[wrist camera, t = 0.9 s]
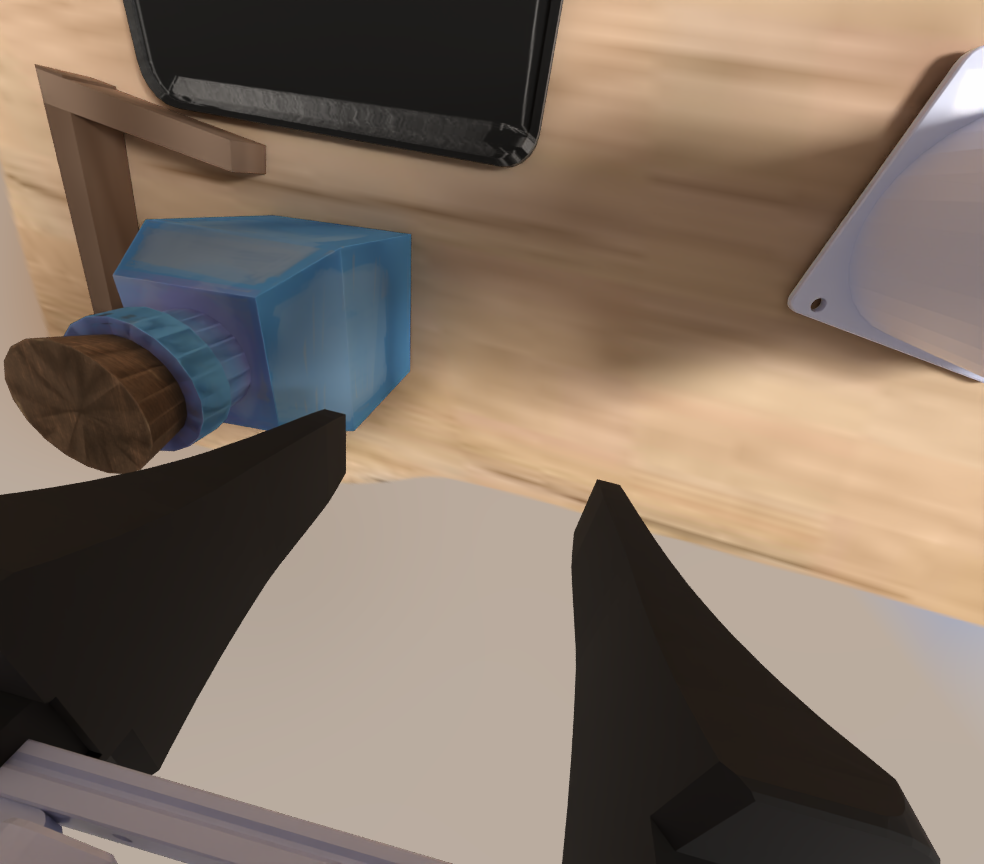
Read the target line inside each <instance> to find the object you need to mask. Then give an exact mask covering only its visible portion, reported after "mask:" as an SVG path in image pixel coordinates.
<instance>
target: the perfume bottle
mask: <svg viewBox="0 0 984 864" xmlns="http://www.w3.org/2000/svg"><path fill="white" fill-rule="evenodd" d="M112 276H113V278H114V281H115V284H116V287H117V290H118V293H119V296H120V299H121V302H122V304H123V307H124V308H120V309H115V310H111V311H107V312H102V313H98V314H94V315H89V316H85V317H83V318H81V319H80V320H78V321H76V322H74V323H72V324H70V326H69V328H68V329H67V331H66V333H65V335H64V336H63V337H47V338H30V339H24V340H22V341H20V342H19V343H17V344H15V345H13V346H11V347H10V349H9V351H8V353H7V355H6V358H5V360H4V370H5V380H6V383H7V385H8V388H9V390H10V393H11V395H12V398H13V400H14V402H15V403H16V404H17V406H18V407H19V409H20V410H21V412H22V413H23V415H24V416H25V418H26V419H27V420H28V422H29V423H30V424H31V425H32V426H33V427H34V428H35V429H36V430H37V431H38V432H39V433H40V434H41V435H42V436H43V437H44V438H45V439H46V440H47V441H49V442H50V443H51V444H53V445H54V446H55V447H56V448H58V449H59V450H60V451H62V452H63V453H64V454H66V455H68V456H69V457H71V458H73V459H75V460H77V461H78V462H80V463H82V464H84V465H86V466H88V467H91V468H94V469H97V470H100V471H104V472H107V473H118V474H125V473H129V472H134V471H137V470H141V468H143V466H145V465H146V463H148V462H149V461H150V460H151V459H152V458H153V457H154V456H155V455H156V454H157V453H158V452H159V451H176V450H180V449H183V448H185V447H188V446H191V445H192V444H194V443H195V442H197V441H198V440H200V439H201V438H203V437H205V436H206V435H208V434H209V433H211V432H212V431H214V430H215V429H217V428H218V427H219V426H220V425H221V424H222V423H229V424H234V425H240V426H245V427H251V428H256V429H262V430H270V429H272V428H275V427H278V426H280V425H283V424H285V423H288V422H290V421H293V420H295V419H298V418H300V417H303V416H306V415H308V414H311V413H314V412H317V411H320V410H323V409H327V410H331V411H335V412H338V413H342V414H346V431H355V430H356V428H357V427H358V426H359V425H360V424H361V423H362V422H363V421H364V420H365V419H366V418H367V417H368V416H369V415H370V413H371V412H372V411H373V410H374V409H375V408H376V407H377V406H378V405H379V404H380V403H381V402H382V401H383V400H384V399H385V397H386V396H387V395H388V394H389V393H390V392H391V391H392V390H393V389H394V388H395V387H396V386H397V385H398V384H399V382H400V381H401V380H402V379H403V378H404V377H405V376H406V375H407V374H408V373H409V372H410V314H411V234H407V233H399V232H392V231H385V230H377V229H370V228H363V227H356V226H348V225H341V224H334V223H326V222H319V221H312V220H305V219H297V218H290V217H283V216H275V215H265V216H235V217H205V218H174V219H146V220H145V221H144V223H143V225H142V226H141V228H140V230H139V231H138V233H137V235H136V236H135V238H134V240H133V242H132V243H131V245H130V247H129V248H128V250H127V252H126V253H125V255H124V257H123V258H122V260H121V262H120V263H119V265H118V267H117V269H116V270H115V272H114V274H113V275H112Z"/></svg>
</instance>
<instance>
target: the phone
mask: <svg viewBox="0 0 984 864" xmlns="http://www.w3.org/2000/svg"><path fill="white" fill-rule="evenodd" d="M123 2H124V7H125V11H126V15H127V19H128V23H129V28H130V32H131V36H132V40H133V44H134V48H135V53H136V57H137V61H138V64H139V67H140V70H141V73H142V76H143V77H144V79H145V81H146V83H147V84H148V86H149V88H150V89H151V90H152V91H153V92H154V94H155V95H156V96H157V97H158V98H159V99H161V100H162V101H163V102H165V103H166V104H168V105H171V106H173V107H176V108H181V109H185V110H190V111H195V112H201V113H207V114H212V115H218V116H223V117H229V118H234V119H240V120H245V121H251V122H256V123H262V124H268V125H273V126H279V127H284V128H290V129H295V130H301V131H306V132H312V133H318V134H323V135H329V136H334V137H340V138H345V139H351V140H356V141H362V142H367V143H373V144H379V145H384V146H390V147H395V148H401V149H406V150H412V151H417V152H423V153H428V154H434V155H440V156H445V157H451V158H456V159H462V160H467V161H473V162H478V163H484V164H490V165H495V166H501V167H513V166H516V165H518V164H521V163H523V162H524V161H525V160H526V159H527V158H528V157H529V156H530V155H531V154H532V152H533V150H534V149H535V147H536V145H537V142H538V139H539V135H540V130H541V124H542V119H543V113H544V107H545V102H546V96H547V90H548V84H549V79H550V73H551V67H552V62H553V56H554V50H555V44H556V39H557V33H558V27H559V22H560V16H561V10H562V4H563V0H123Z"/></svg>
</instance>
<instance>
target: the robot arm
mask: <svg viewBox="0 0 984 864" xmlns="http://www.w3.org/2000/svg"><path fill="white" fill-rule="evenodd" d="M819 298H821V303H820V305H819V306H818V307H817V308H815V309H813V310H811V307H810V306H811V304H812V302H814V301H815V300H816V299H819ZM787 304H788V307H789V308H790V309H791V310H793V311H794V312H796V313H799V314H801V315H804V316H807V317H809V318H812V319H815V320H817V321H820V322H823V323H825V324H828V325H831V326H833V327H836V328H839V329H841V330H844V331H846V332H849V333H852V334H854V335H857V336H860V337H862V338H865V339H868V340H870V341H873V342H876V343H878V344H881V345H884V346H886V347H889V348H892V349H894V350H897V351H900V352H902V353H905V354H908V355H910V356H913V357H916V358H918V359H921V360H924V361H926V362H929V363H932V364H934V365H937V366H940V367H942V368H945V369H948V370H950V371H953V372H956V373H958V374H961V375H964V376H966V377H969V378H972V379H974V380H977V381H980V382H982V383H984V45H983V46H980V47H977V48H974V49H972V50H969V51H968V52H966V53H965V54H963V55H962V56H961V57H960V58H959V59H958V60H957V61H956V62H955V63H954V65H953V66H952V68H951V69H950V70H949V72H948V73H947V75H946V76H945V77H944V79H943V80H942V82H941V83H940V84H939V86H938V87H937V89H936V90H935V91H934V93H933V94H932V96H931V97H930V99H929V100H928V101H927V103H926V104H925V106H924V107H923V108H922V110H921V111H920V113H919V114H918V115H917V117H916V118H915V120H914V121H913V122H912V124H911V125H910V127H909V128H908V129H907V131H906V132H905V134H904V135H903V136H902V138H901V139H900V141H899V142H898V143H897V145H896V146H895V148H894V149H893V150H892V152H891V153H890V155H889V156H888V158H887V159H886V160H885V162H884V163H883V165H882V166H881V167H880V169H879V170H878V172H877V173H876V174H875V176H874V177H873V179H872V180H871V181H870V183H869V184H868V186H867V187H866V188H865V190H864V191H863V193H862V194H861V195H860V197H859V198H858V200H857V201H856V202H855V204H854V205H853V207H852V208H851V209H850V211H849V212H848V214H847V215H846V217H845V218H844V219H843V221H842V222H841V224H840V225H839V226H838V228H837V229H836V231H835V232H834V233H833V235H832V236H831V238H830V239H829V240H828V242H827V243H826V245H825V246H824V247H823V249H822V250H821V252H820V253H819V254H818V256H817V257H816V259H815V260H814V261H813V263H812V264H811V266H810V267H809V268H808V270H807V271H806V273H805V274H804V276H803V277H802V278H801V280H800V281H799V283H798V284H797V285H796V287H795V288H794V290H793V291H792V292H791V294H790V296H789V298H788V303H787ZM345 473H346V414H342V413H338V412H335V411H331V410H327V409H323V410H320V411H317V412H314V413H311V414H308V415H306V416H303V417H300V418H298V419H295V420H293V421H290V422H288V423H285V424H283V425H280V426H278V427H275V428H272V429H270V430H267V431H265V432H262V433H260V434H257V435H254V436H252V437H249V438H246V439H243V440H240V441H237V442H235V443H232V444H229V445H226V446H223V447H220V448H217V449H214V450H212V451H209V452H206V453H203V454H199V455H196V456H192V457H189V458H186V459H182V460H179V461H175V462H171V463H167V464H163V465H160V466H156V467H152V468H148V469H144V470H139V471H134V472H129V473H125V474H120V475H116V476H111V477H106V478H101V479H97V480H92V481H87V482H81V483H75V484H70V485H64V486H58V487H53V488H45V489H39V490H33V491H25V492H19V493H11V494H4V495H0V864H118V863H117V861H116V860H115V858H114V856H113V855H112V854H110V853H108V852H105V851H103V850H100V849H98V848H95V847H93V846H91V845H88V844H86V843H83V842H81V841H78V840H76V839H73V838H71V837H69V836H66V835H63V833H62V826H65V827H68V828H71V829H75V830H78V831H81V832H85V833H88V834H91V835H95V836H98V837H101V838H104V839H108V840H111V841H115V842H118V843H121V844H125V845H128V846H131V847H135V848H138V849H141V850H144V851H148V852H151V853H154V854H158V855H161V856H164V857H168V858H171V859H174V860H178V861H181V862H184V863H188V864H452V863H449V862H445V861H442V860H438V859H435V858H431V857H428V856H425V855H421V854H417V853H415V852H411V851H408V850H404V849H401V848H397V847H394V846H391V845H387V844H384V843H381V842H377V841H373V840H370V839H367V838H364V837H360V836H357V835H353V834H350V833H347V832H343V831H340V830H336V829H333V828H329V827H326V826H323V825H319V824H316V823H312V822H309V821H305V820H302V819H298V818H295V817H292V816H289V815H285V814H282V813H279V812H275V811H272V810H268V809H265V808H262V807H258V806H255V805H251V804H248V803H244V802H241V801H238V800H234V799H231V798H228V797H224V796H221V795H217V794H214V793H211V792H207V791H203V790H200V789H197V788H193V787H190V786H186V785H183V784H180V783H177V782H173V781H170V780H166V779H163V778H160V777H156V776H152V775H153V774H154V773H156V772H157V771H158V770H159V769H160V768H161V765H162V764H163V762H164V760H165V758H166V756H167V754H168V752H169V750H170V748H171V746H172V744H173V742H174V740H175V739H176V737H177V735H178V733H179V731H180V729H181V727H182V726H183V724H184V722H185V720H186V718H187V716H188V714H189V712H190V711H191V709H192V707H193V705H194V703H195V701H196V699H197V698H198V696H199V694H200V692H201V691H202V689H203V687H204V685H205V684H206V682H207V680H208V678H209V677H210V675H211V673H212V671H213V670H214V668H215V666H216V664H217V662H218V661H219V659H220V657H221V655H222V654H223V652H224V650H225V649H226V647H227V645H228V644H229V642H230V640H231V639H232V637H233V636H234V634H235V632H236V631H237V629H238V627H239V626H240V624H241V622H242V620H243V619H244V617H245V616H246V614H247V613H248V611H249V609H250V608H251V606H252V605H253V603H254V602H255V600H256V598H257V597H258V595H259V594H260V592H261V591H262V589H263V588H264V586H265V584H266V583H267V581H268V580H269V579H270V577H271V576H272V574H273V573H274V572H275V570H276V569H277V568H278V566H279V565H280V564H281V562H282V561H283V560H284V559H285V557H286V556H287V555H288V554H289V552H290V551H291V550H292V549H293V547H294V546H295V545H296V543H297V542H298V541H299V540H300V538H301V537H302V536H303V535H304V533H305V532H306V531H307V530H308V528H309V527H310V526H311V525H312V523H313V522H314V521H315V519H316V518H317V517H318V515H319V514H320V513H321V512H322V510H323V509H324V508H325V506H326V505H327V504H328V502H329V501H330V499H331V497H332V496H333V494H334V493H335V491H336V489H337V488H338V486H339V484H340V482H341V480H342V479H343V477H344V475H345ZM573 539H574V540H573V550H572V566H571V568H572V588H573V589H572V590H573V607H574V626H575V643H576V681H575V703H574V721H573V738H572V755H571V768H570V781H569V796H568V808H567V818H566V828H565V839H564V850H563V860H562V864H940V858H939V856H938V855H937V853H936V851H935V849H934V847H933V846H932V844H931V842H930V840H929V839H928V837H927V835H926V833H925V831H924V829H923V828H922V826H921V824H920V822H919V820H918V819H917V817H916V815H915V813H914V811H913V810H912V808H911V806H910V804H909V802H908V801H907V799H906V797H905V795H904V793H903V792H902V790H901V788H900V786H899V784H898V783H897V781H896V780H895V779H894V778H893V777H892V776H891V775H889V774H888V773H887V772H886V771H885V770H883V769H882V768H881V767H880V766H879V765H877V764H876V763H875V762H874V761H872V760H871V759H870V758H869V757H867V756H866V755H865V754H864V753H863V752H861V751H860V750H859V749H858V748H856V747H855V746H854V745H853V744H852V743H850V742H849V741H848V740H847V739H845V738H844V737H843V736H842V735H840V734H839V733H838V732H837V731H836V730H834V729H833V728H832V727H830V725H828V724H827V723H826V722H825V721H824V720H822V719H821V718H820V717H819V716H818V715H817V714H815V713H814V712H813V711H812V710H811V709H810V708H808V706H807V705H805V704H804V703H803V702H802V701H801V700H800V699H799V698H798V697H796V696H795V695H794V694H793V693H792V692H791V691H789V689H787V688H786V687H785V686H784V685H783V684H782V683H781V682H780V681H779V680H778V679H777V678H776V677H774V676H773V675H772V674H771V673H770V672H769V671H768V670H767V669H766V668H765V667H764V666H763V665H762V664H761V663H760V662H759V661H758V660H757V659H756V658H755V657H754V656H753V655H752V654H751V653H750V652H749V651H748V650H747V649H746V648H745V647H744V646H743V645H742V644H741V643H740V642H739V641H738V640H737V639H736V638H735V637H734V636H733V635H732V634H731V633H730V632H729V631H728V630H727V629H726V627H725V626H724V625H723V624H722V623H721V622H720V621H719V620H718V619H717V618H716V617H715V615H714V614H713V613H712V612H711V611H710V610H709V609H708V607H707V606H706V605H705V604H704V603H703V602H702V600H701V599H700V598H699V597H698V596H697V595H696V594H695V592H694V591H693V590H692V589H691V588H690V586H689V585H688V584H687V583H686V581H685V580H684V579H683V577H682V576H681V575H680V573H679V572H678V571H677V569H676V568H675V567H674V565H673V564H672V563H671V561H670V560H669V559H668V557H667V556H666V555H665V553H664V552H663V551H662V549H661V547H660V546H659V545H658V543H657V542H656V540H655V539H654V537H653V536H652V534H651V533H650V531H649V530H648V528H647V527H646V525H645V524H644V522H643V521H642V519H641V517H640V516H639V514H638V513H637V511H636V510H635V508H634V506H633V505H632V503H631V502H630V500H629V498H628V497H627V495H626V494H625V492H624V491H623V489H622V488H621V486H620V485H618V484H614V483H610V482H606V481H602V480H598V479H597V481H596V483H595V486H594V488H593V490H592V492H591V495H590V497H589V499H588V502H587V504H586V506H585V509H584V511H583V513H582V515H581V518H580V520H579V522H578V525H577V527H576V529H575V532H574V538H573ZM60 825H61V826H60Z"/></svg>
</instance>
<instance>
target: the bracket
mask: <svg viewBox="0 0 984 864" xmlns="http://www.w3.org/2000/svg"><path fill="white" fill-rule="evenodd" d="M35 68H36V72H37V76H38V80H39V84H40V89H41V93H42V97H43V101H44V105H45V110H46V114H47V118H48V122H49V126H50V130H51V135H52V139H53V143H54V147H55V151H56V156H57V160H58V164H59V168H60V172H61V177H62V181H63V185H64V189H65V193H66V198H67V202H68V206H69V210H70V214H71V218H72V223H73V227H74V231H75V235H76V239H77V244H78V248H79V252H80V256H81V260H82V265H83V269H84V273H85V277H86V281H87V286H88V290H89V294H90V298H91V302H92V306H93V311H94V314H98V313H102V312H107V311H111V310H115V309H120V308H124V307H123V304H122V302H121V299H120V296H119V293H118V290H117V287H116V284H115V281H114V278H113V276H112V275H113V274H114V272H115V270H116V269H117V267H118V265H119V263H120V262H121V260H122V258H123V257H124V255H125V253H126V252H127V250H128V248H129V247H130V245H131V243H132V242H133V240H134V238H135V236H136V235H137V233H138V231H139V229H138V223H137V217H136V211H135V204H134V198H133V192H132V185H131V179H130V173H129V166H128V160H127V154H126V147H125V141H124V135H123V132H125V133H128V134H130V135H133V136H136V137H138V138H141V139H144V140H146V141H149V142H152V143H154V144H157V145H160V146H163V147H165V148H168V149H171V150H173V151H176V152H179V153H181V154H184V155H187V156H190V157H192V158H195V159H198V160H200V161H203V162H206V163H208V164H211V165H214V166H217V167H219V168H222V169H225V170H227V171H230V172H240V173H258V174H266V146H265V145H263V144H260V143H257V142H255V141H252V140H249V139H246V138H244V137H241V136H238V135H236V134H233V133H230V132H228V131H225V130H222V129H220V128H217V127H214V126H212V125H209V124H206V123H204V122H201V121H198V120H196V119H193V118H190V117H188V116H185V115H182V114H179V113H177V112H174V111H171V110H169V109H166V108H163V107H161V106H158V105H155V104H153V103H150V102H147V101H145V100H142V99H139V98H137V97H134V96H131V95H129V94H126V93H123V92H121V91H118V90H116V87H115V86H112V85H110V84H107V83H104V82H102V81H99V80H96V79H94V78H91V77H86V76H82V75H78V74H74V73H70V72H65V71H61V70H57V69H53V68H49V67H44V66H40V65H36V64H35Z"/></svg>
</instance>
